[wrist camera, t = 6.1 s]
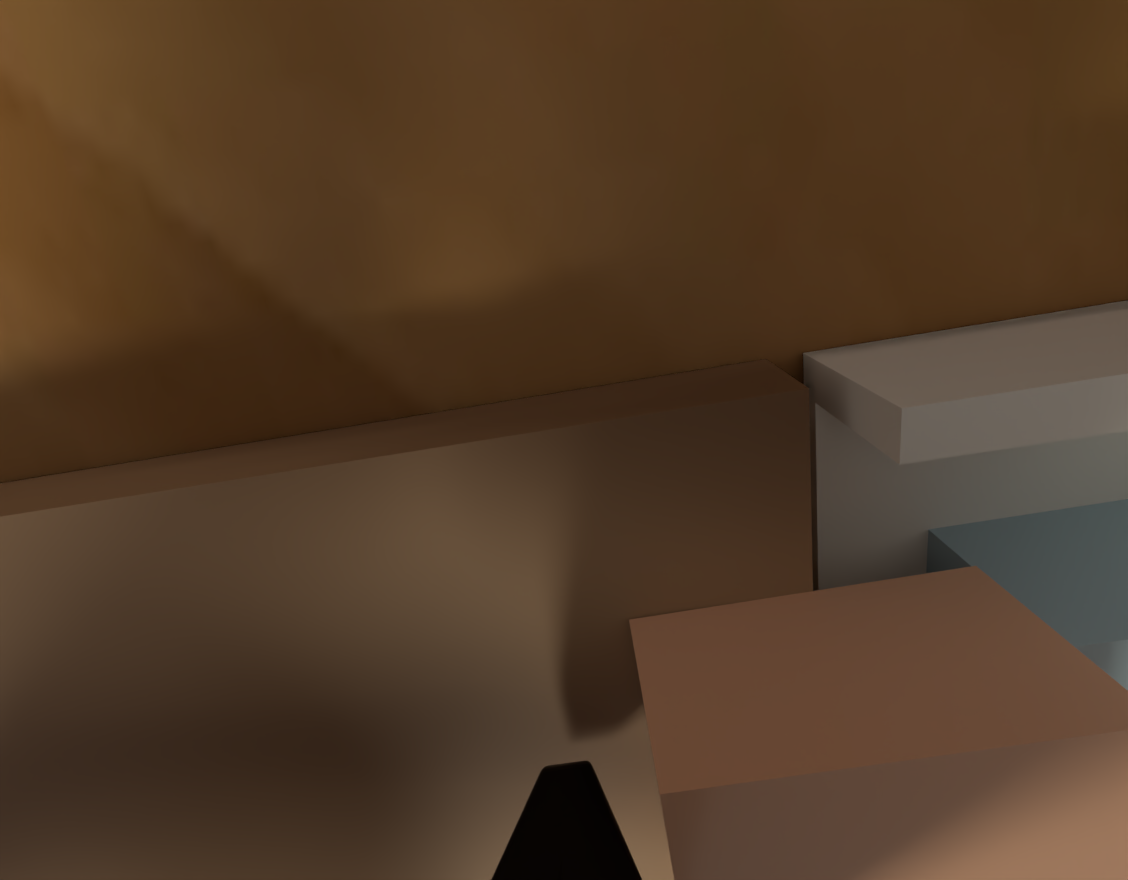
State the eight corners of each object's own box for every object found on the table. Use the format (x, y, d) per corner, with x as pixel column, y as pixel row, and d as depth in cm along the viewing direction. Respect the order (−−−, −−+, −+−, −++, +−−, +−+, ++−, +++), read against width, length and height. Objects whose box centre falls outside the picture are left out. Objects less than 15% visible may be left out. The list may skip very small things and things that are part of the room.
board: (789, 848, 11) (819, 936, 10) (127, 920, 12) (70, 1009, 11) (766, 359, 8) (808, 388, 7) (-154, 508, 9) (-291, 563, 7)
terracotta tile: (955, 810, 9) (1096, 1017, 7) (668, 848, 9) (705, 1060, 7) (976, 565, 7) (1168, 724, 5) (629, 619, 8) (659, 795, 5)
